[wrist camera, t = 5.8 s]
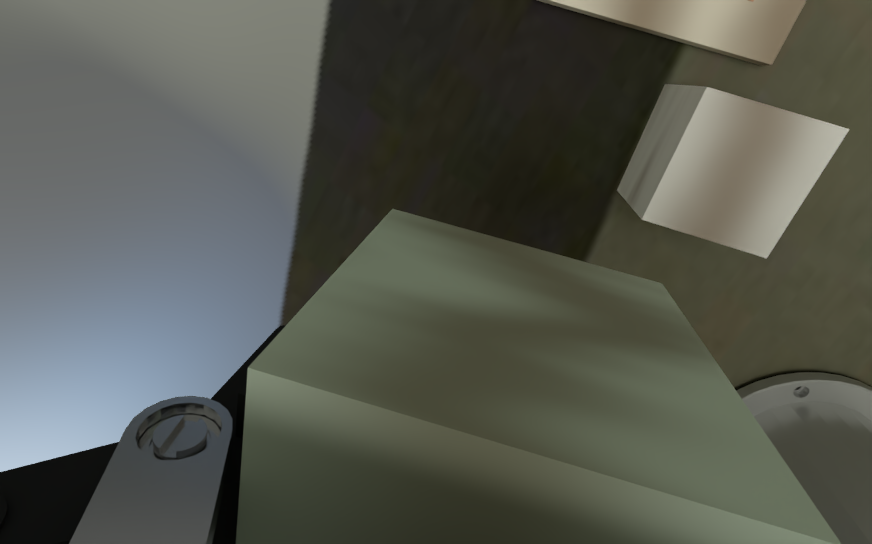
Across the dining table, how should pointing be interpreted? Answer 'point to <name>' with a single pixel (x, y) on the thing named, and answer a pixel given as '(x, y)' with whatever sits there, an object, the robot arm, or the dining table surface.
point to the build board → (703, 22)
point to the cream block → (726, 166)
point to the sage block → (501, 409)
